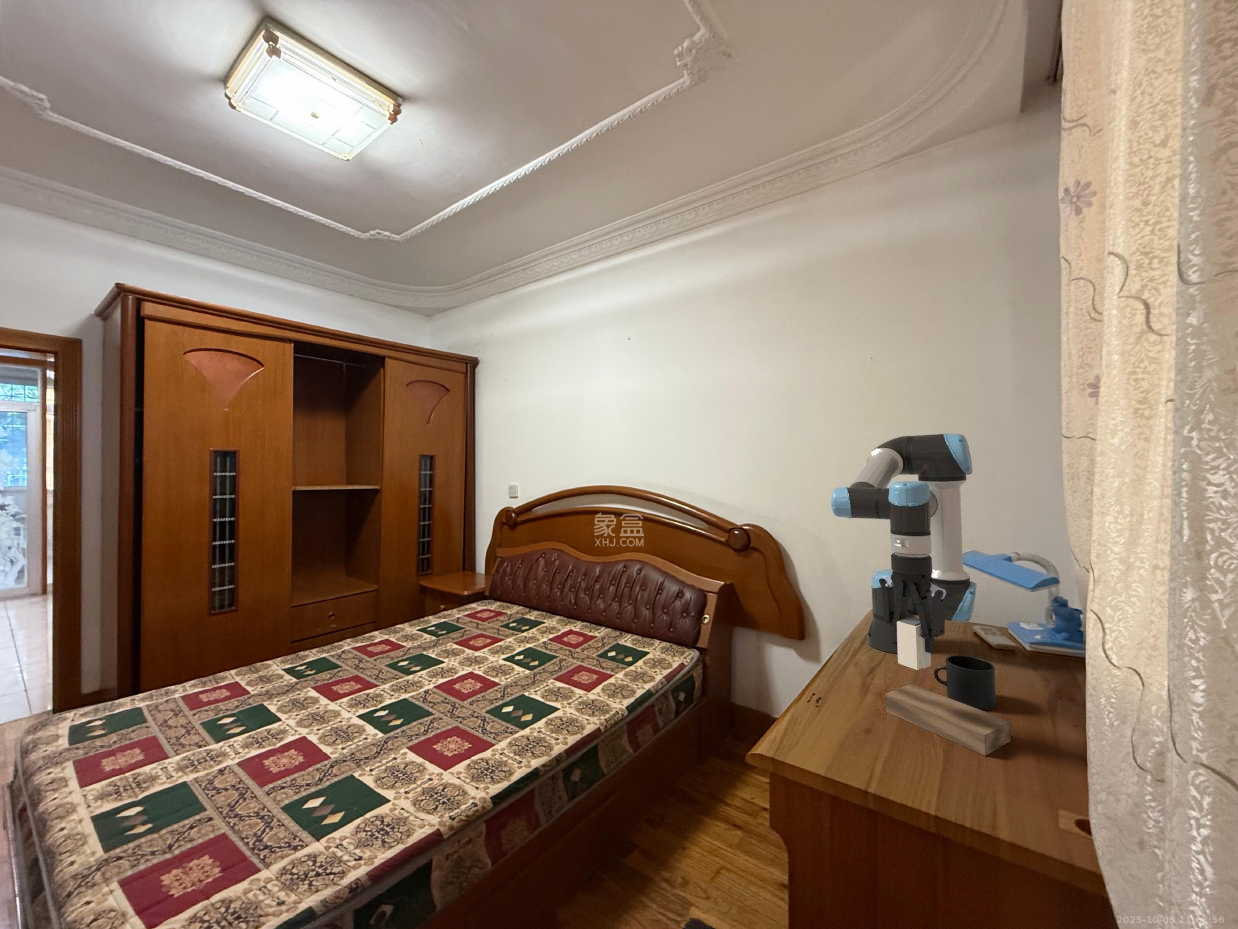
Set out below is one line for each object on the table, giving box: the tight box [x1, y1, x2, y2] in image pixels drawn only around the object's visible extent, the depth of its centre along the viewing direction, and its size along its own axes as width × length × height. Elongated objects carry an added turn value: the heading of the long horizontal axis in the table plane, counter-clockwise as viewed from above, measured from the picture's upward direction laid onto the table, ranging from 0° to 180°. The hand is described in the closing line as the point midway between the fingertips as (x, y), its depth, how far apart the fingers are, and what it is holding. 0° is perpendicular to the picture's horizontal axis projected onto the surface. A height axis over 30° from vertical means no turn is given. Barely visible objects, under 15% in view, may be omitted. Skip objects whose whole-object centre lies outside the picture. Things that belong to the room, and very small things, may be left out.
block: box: [897, 617, 923, 671], centre depth 104 cm, size 5×4×9 cm
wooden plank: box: [884, 683, 1012, 757], centre depth 105 cm, size 10×20×4 cm, turn 28°
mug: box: [933, 654, 997, 711], centre depth 116 cm, size 9×12×9 cm
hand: (914, 662), depth 104 cm, fingers closed on block, 4 cm apart
